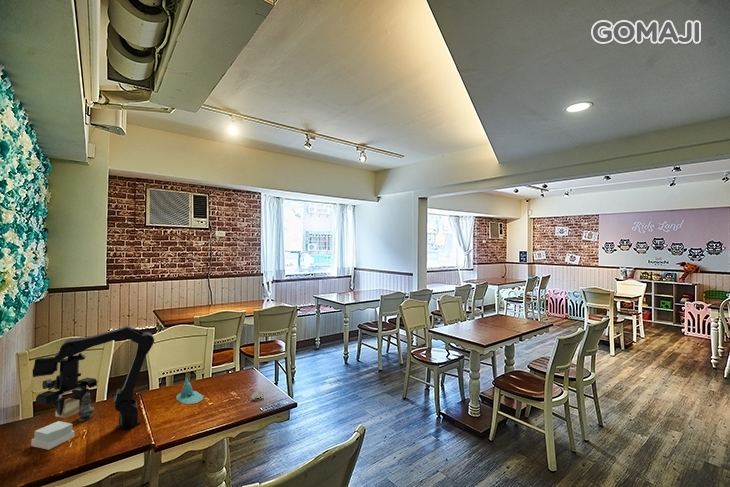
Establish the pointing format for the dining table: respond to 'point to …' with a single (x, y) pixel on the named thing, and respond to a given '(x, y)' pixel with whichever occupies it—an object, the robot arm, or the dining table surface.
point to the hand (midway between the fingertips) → (67, 411)
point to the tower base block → (53, 443)
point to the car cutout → (257, 395)
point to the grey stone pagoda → (85, 408)
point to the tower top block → (53, 431)
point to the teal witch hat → (189, 394)
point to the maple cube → (69, 408)
